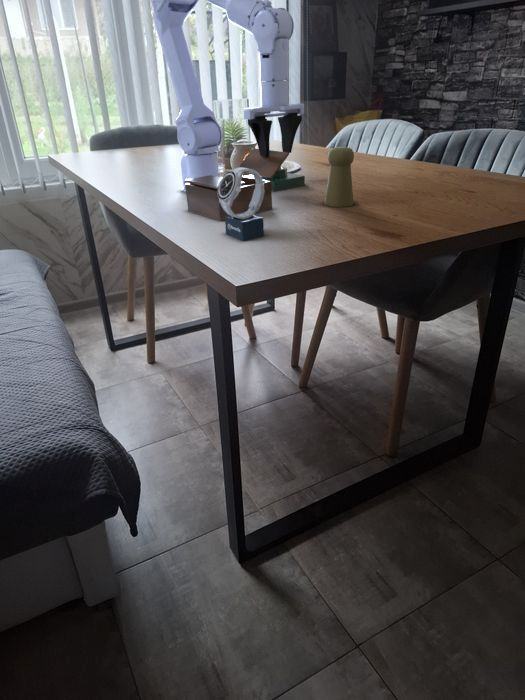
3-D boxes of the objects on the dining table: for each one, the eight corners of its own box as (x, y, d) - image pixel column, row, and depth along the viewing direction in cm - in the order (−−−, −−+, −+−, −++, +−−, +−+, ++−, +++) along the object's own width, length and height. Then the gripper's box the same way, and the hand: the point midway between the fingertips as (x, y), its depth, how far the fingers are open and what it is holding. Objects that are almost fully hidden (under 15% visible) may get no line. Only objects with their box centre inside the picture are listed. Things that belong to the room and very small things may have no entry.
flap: (235, 170, 105) (236, 172, 105) (270, 177, 97) (271, 178, 97) (252, 148, 105) (253, 149, 106) (288, 152, 97) (289, 153, 97)
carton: (237, 200, 108) (235, 170, 105) (272, 209, 100) (271, 177, 97) (187, 211, 101) (184, 179, 98) (220, 221, 93) (217, 187, 90)
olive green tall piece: (352, 207, 98) (356, 149, 93) (323, 206, 100) (324, 149, 94) (354, 200, 104) (357, 145, 98) (325, 200, 105) (327, 145, 99)
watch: (216, 236, 84) (210, 169, 79) (254, 227, 88) (251, 163, 82) (233, 243, 80) (228, 173, 75) (272, 234, 84) (270, 167, 78)
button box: (243, 185, 123) (242, 168, 121) (273, 179, 128) (273, 163, 126) (274, 191, 115) (273, 173, 113) (304, 185, 120) (304, 168, 118)
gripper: (258, 82, 89) (261, 160, 96) (314, 79, 97) (313, 151, 104) (235, 83, 94) (240, 157, 101) (291, 80, 102) (291, 149, 109)
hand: (276, 154), depth 103 cm, fingers open, 6 cm apart
